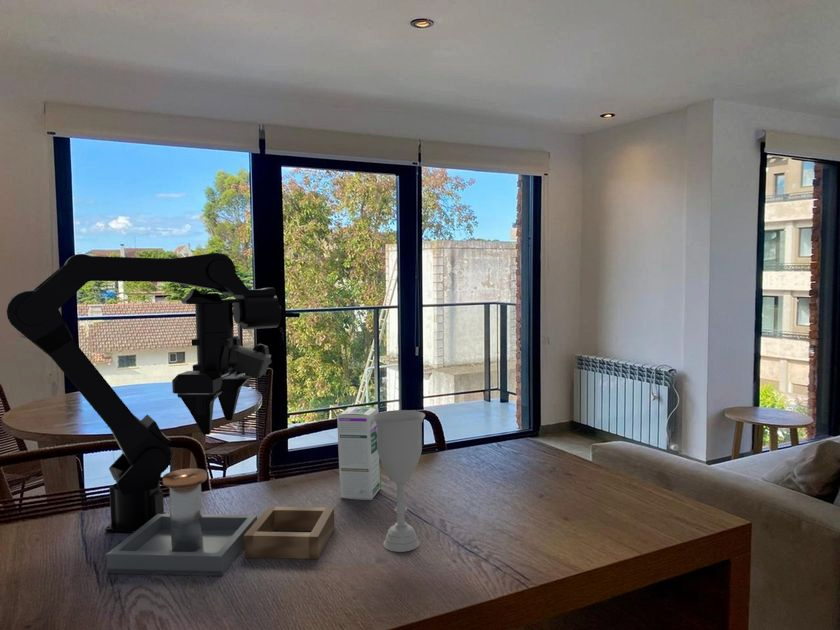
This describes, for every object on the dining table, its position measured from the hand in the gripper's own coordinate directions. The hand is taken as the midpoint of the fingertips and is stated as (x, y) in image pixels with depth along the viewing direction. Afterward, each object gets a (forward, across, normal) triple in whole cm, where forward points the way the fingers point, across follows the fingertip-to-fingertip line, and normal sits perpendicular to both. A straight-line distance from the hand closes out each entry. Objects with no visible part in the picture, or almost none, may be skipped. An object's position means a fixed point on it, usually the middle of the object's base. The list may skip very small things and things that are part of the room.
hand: (218, 427), depth 98 cm
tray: (+13, -16, -2) cm, 21 cm away
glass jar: (+12, -16, -2) cm, 21 cm away
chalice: (+13, -13, -31) cm, 36 cm away
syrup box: (+13, +6, -22) cm, 26 cm away
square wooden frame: (+13, -13, -16) cm, 24 cm away
